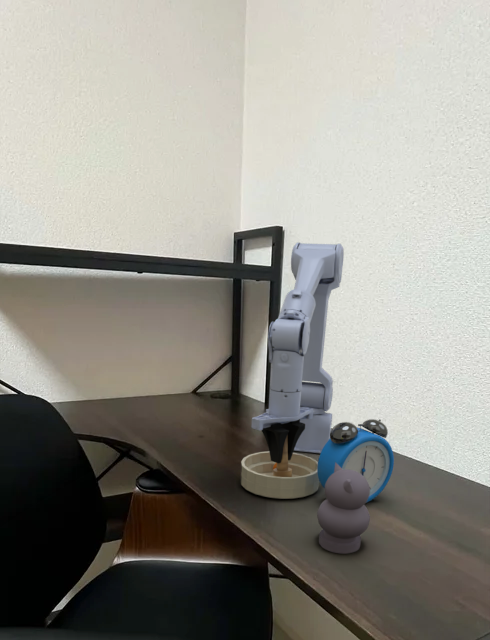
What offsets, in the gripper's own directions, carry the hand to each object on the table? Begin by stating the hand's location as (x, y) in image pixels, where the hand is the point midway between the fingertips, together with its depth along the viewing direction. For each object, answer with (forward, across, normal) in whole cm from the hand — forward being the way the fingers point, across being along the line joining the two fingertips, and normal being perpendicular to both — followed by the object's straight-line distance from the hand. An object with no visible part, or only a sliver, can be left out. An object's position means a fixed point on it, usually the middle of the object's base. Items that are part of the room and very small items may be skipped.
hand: (280, 460), depth 99 cm
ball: (+3, -3, -3) cm, 5 cm away
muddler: (+3, 0, +1) cm, 3 cm away
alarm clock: (+5, -6, +13) cm, 15 cm away
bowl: (+5, 0, 0) cm, 5 cm away
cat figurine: (+5, +10, +23) cm, 25 cm away
